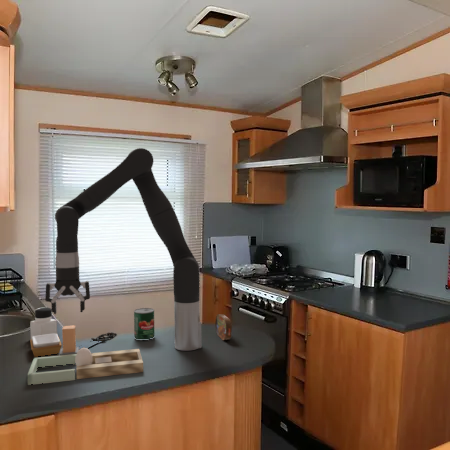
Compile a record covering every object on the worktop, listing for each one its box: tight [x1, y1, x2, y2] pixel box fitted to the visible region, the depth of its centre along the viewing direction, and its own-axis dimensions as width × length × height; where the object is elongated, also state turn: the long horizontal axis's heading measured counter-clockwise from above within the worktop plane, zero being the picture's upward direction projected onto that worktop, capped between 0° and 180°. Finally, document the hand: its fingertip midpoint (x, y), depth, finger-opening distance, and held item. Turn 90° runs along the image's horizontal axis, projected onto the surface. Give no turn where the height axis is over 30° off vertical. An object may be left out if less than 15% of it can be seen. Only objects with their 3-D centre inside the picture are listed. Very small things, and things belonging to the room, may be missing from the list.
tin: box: [214, 313, 233, 341], centre depth 181 cm, size 15×3×8 cm, turn 16°
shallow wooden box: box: [75, 348, 144, 380], centre depth 149 cm, size 20×14×3 cm
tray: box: [26, 354, 76, 386], centre depth 144 cm, size 13×15×3 cm
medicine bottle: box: [29, 306, 58, 340], centre depth 181 cm, size 7×7×12 cm
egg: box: [75, 347, 92, 367], centre depth 147 cm, size 5×5×7 cm
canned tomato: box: [133, 307, 156, 339], centre depth 180 cm, size 8×8×11 cm
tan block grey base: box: [59, 324, 80, 356], centre depth 157 cm, size 6×6×11 cm
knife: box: [91, 331, 118, 342], centre depth 174 cm, size 25×6×1 cm, turn 154°
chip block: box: [95, 357, 112, 364], centre depth 148 cm, size 5×5×3 cm
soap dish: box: [29, 333, 63, 358], centre depth 165 cm, size 12×10×5 cm
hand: (68, 312), depth 157 cm, fingers open, 8 cm apart
